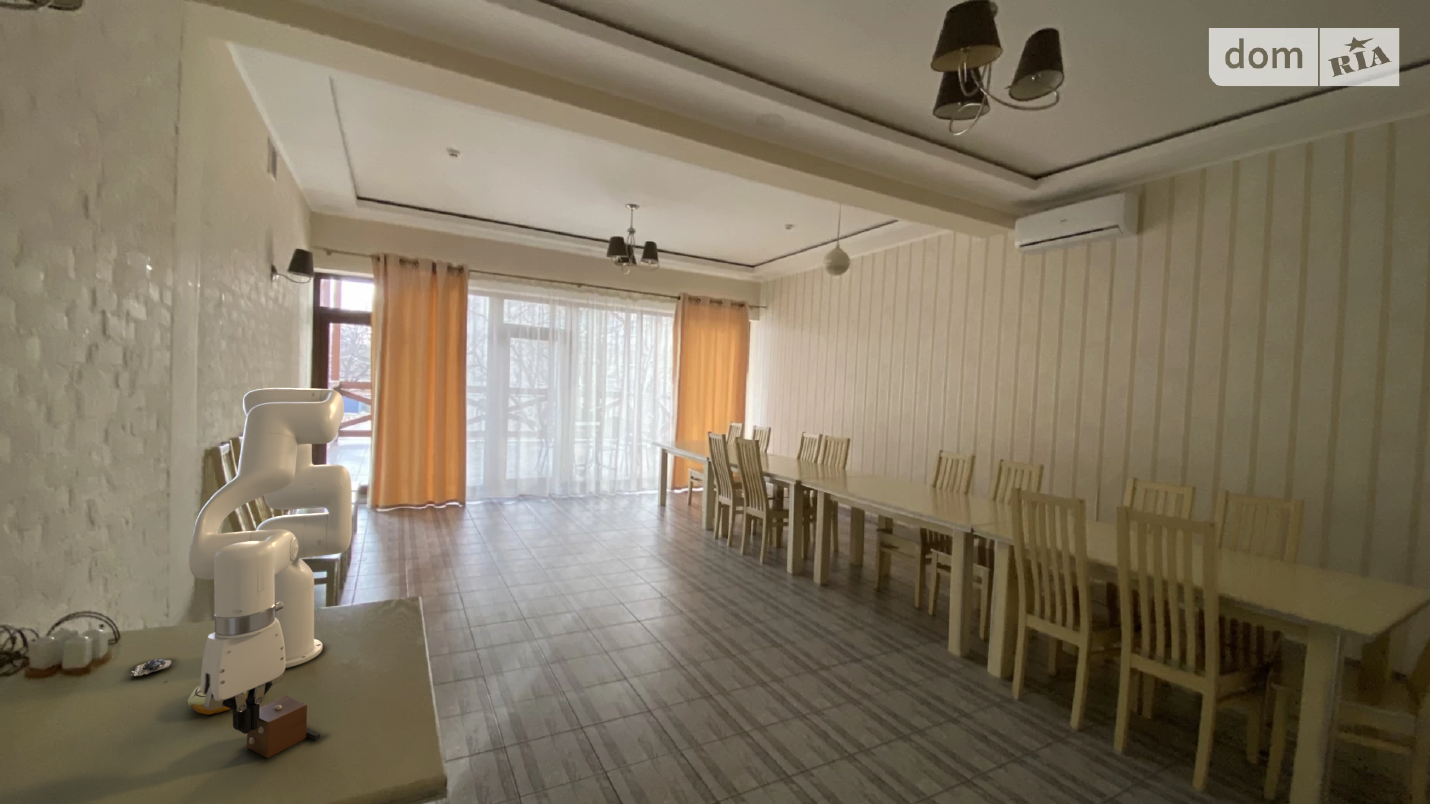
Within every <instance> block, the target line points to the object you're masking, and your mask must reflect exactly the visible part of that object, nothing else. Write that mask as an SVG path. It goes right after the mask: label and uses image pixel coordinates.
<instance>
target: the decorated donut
mask: <svg viewBox="0 0 1430 804" xmlns="http://www.w3.org/2000/svg"><path fill="white" fill-rule="evenodd" d="M246 693H247V691H246V692H244V695H245V700H246ZM205 699H206V695H203V694H202V693H201V684H199V685H197V687H195V688H194V690H193V692H192V693H191V694H190V696H189V697H188V699H187V705H188V706H190V707H191V708H192V709H193V710H194V711H195V712H196V713H199V714H203V715H214V714H219V713H222V712H226V711H230V710H232V709H231V708H228V707H222V708H218V709H214V710H208V709H206V708H204V703H205Z"/></svg>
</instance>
